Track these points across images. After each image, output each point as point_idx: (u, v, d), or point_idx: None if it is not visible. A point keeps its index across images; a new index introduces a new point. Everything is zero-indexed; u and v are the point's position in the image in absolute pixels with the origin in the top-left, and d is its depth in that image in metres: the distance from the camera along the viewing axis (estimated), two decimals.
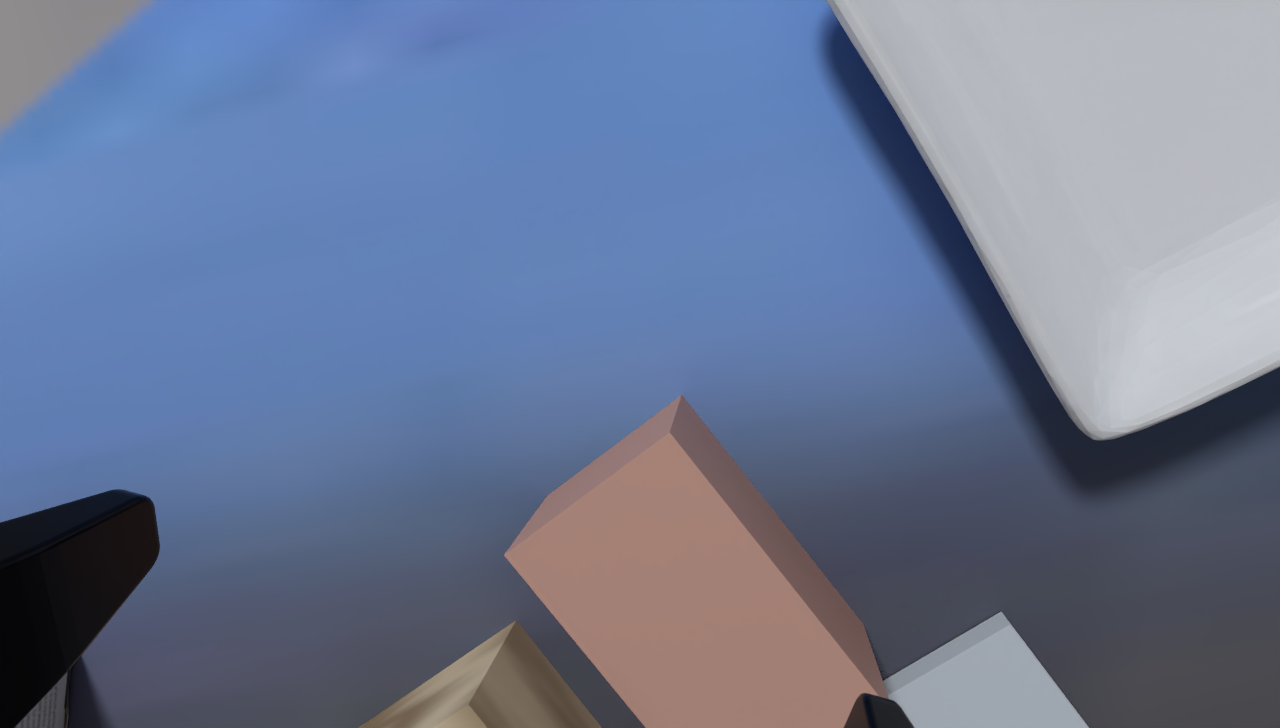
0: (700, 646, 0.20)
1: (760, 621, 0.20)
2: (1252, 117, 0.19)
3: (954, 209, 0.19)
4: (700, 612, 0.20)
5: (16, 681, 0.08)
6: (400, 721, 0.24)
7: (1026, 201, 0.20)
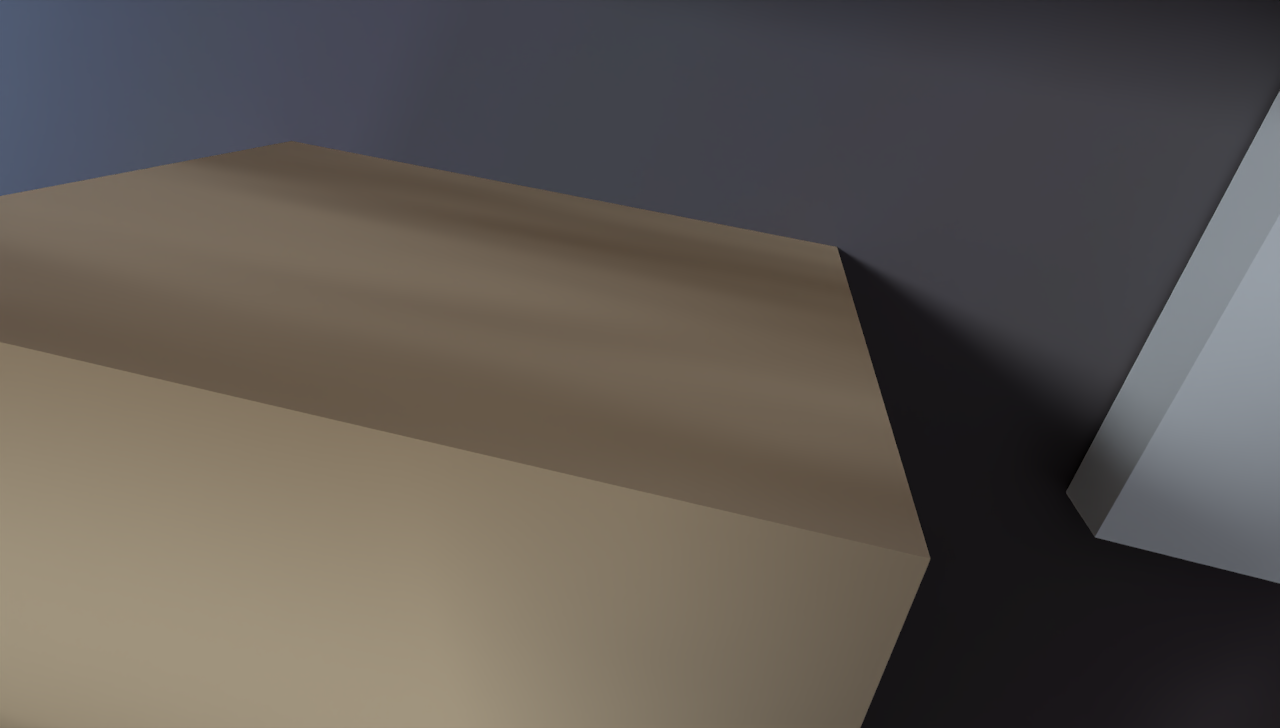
0: None
1: None
2: None
3: None
4: None
5: None
6: None
7: None
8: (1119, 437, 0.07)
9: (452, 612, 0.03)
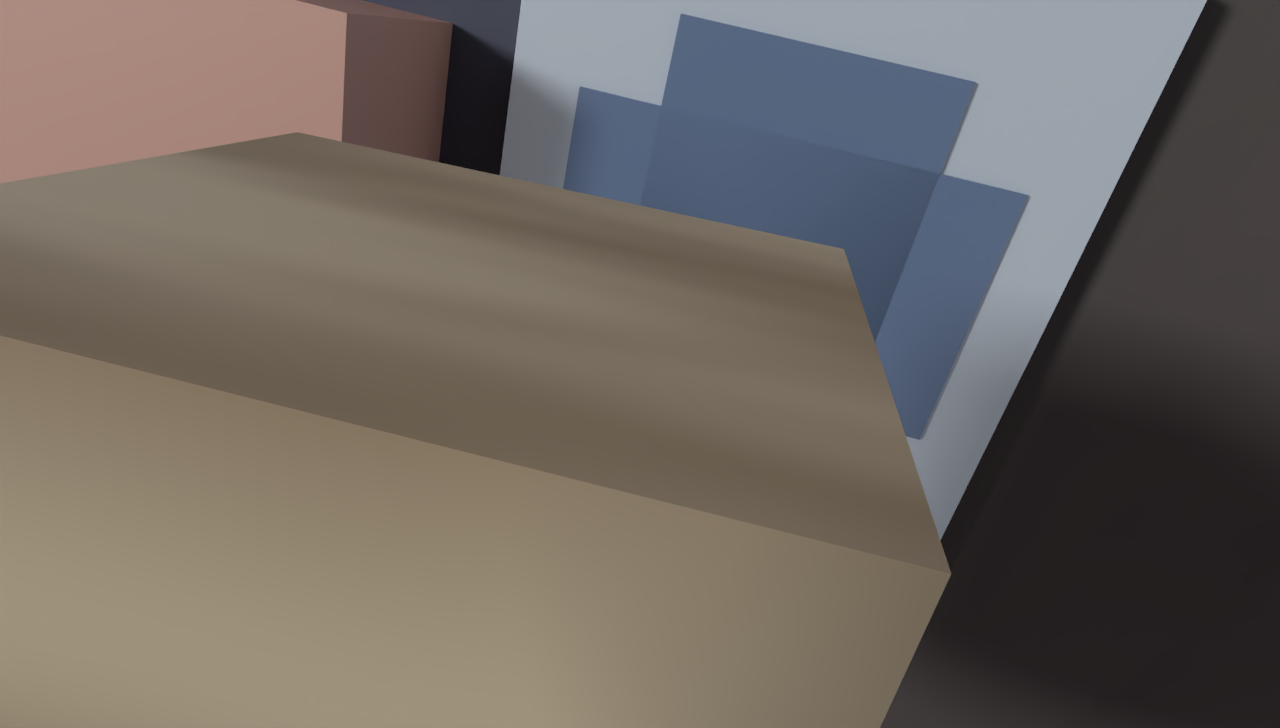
0: (135, 122, 0.15)
1: (144, 33, 0.14)
2: None
3: None
4: (97, 80, 0.15)
5: None
6: None
7: None
8: None
9: (459, 614, 0.03)
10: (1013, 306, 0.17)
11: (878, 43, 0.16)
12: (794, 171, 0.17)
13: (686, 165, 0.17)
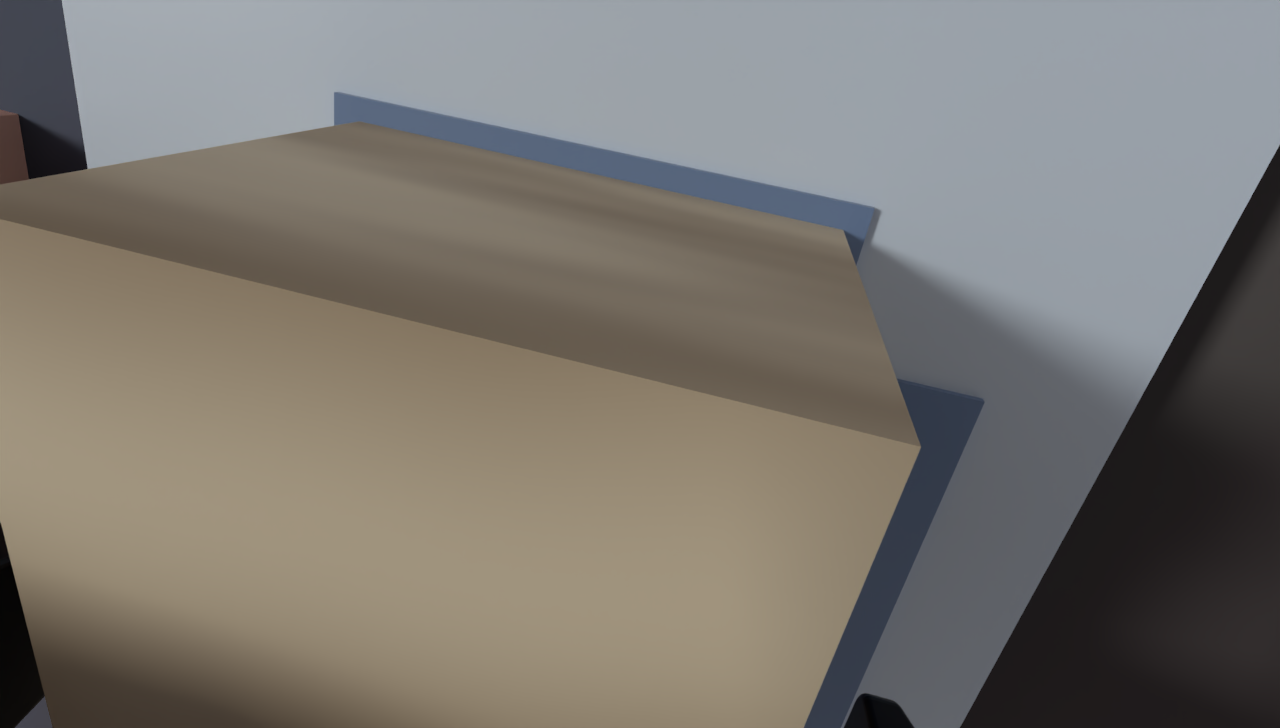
0: None
1: None
2: None
3: None
4: None
5: (16, 681, 0.08)
6: None
7: None
8: None
9: (545, 492, 0.04)
10: (970, 571, 0.10)
11: (690, 140, 0.08)
12: None
13: None
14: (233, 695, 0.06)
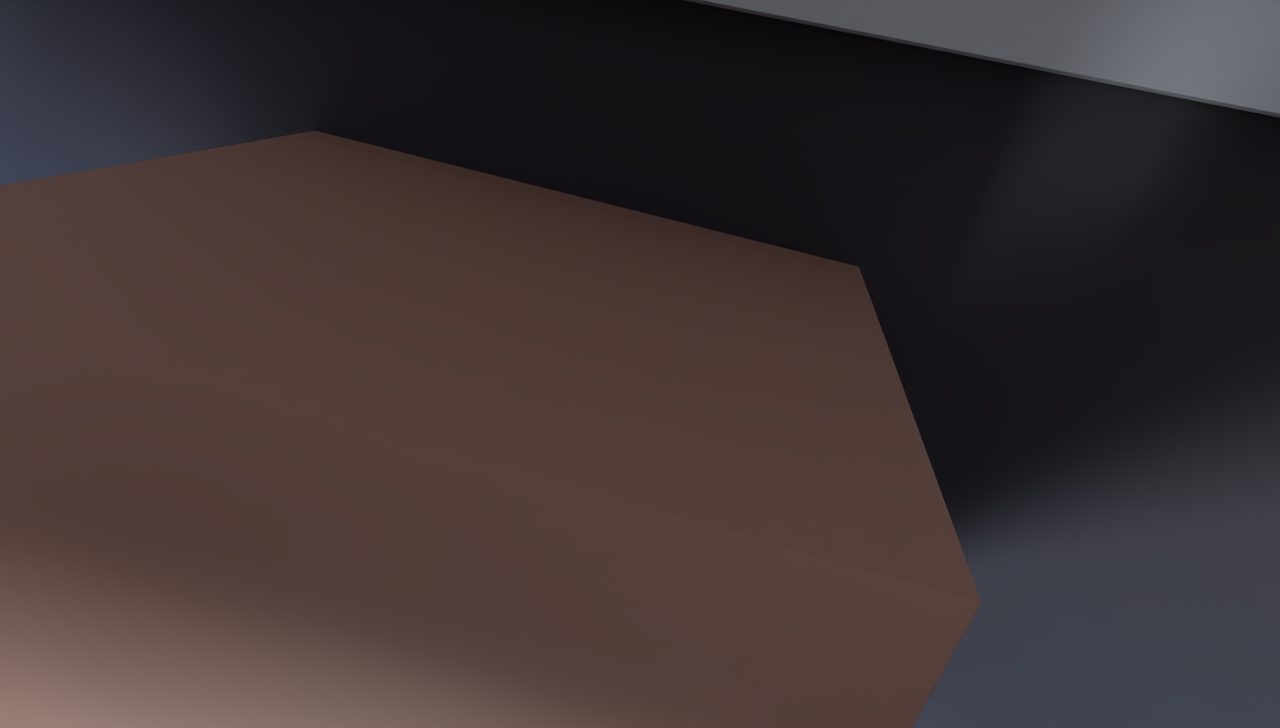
0: None
1: None
2: None
3: None
4: None
5: None
6: None
7: None
8: None
9: None
10: None
11: None
12: None
13: None
14: None
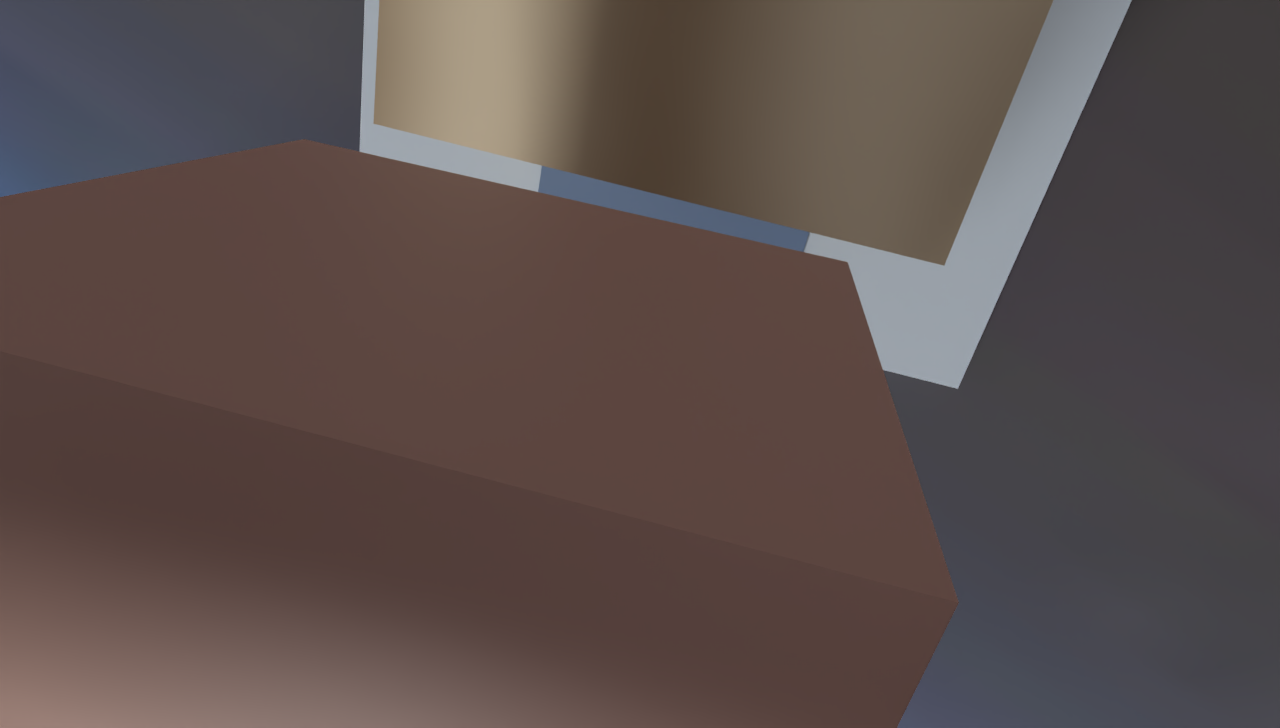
0: None
1: None
2: None
3: None
4: None
5: None
6: None
7: None
8: None
9: None
10: None
11: None
12: None
13: None
14: (591, 61, 0.11)
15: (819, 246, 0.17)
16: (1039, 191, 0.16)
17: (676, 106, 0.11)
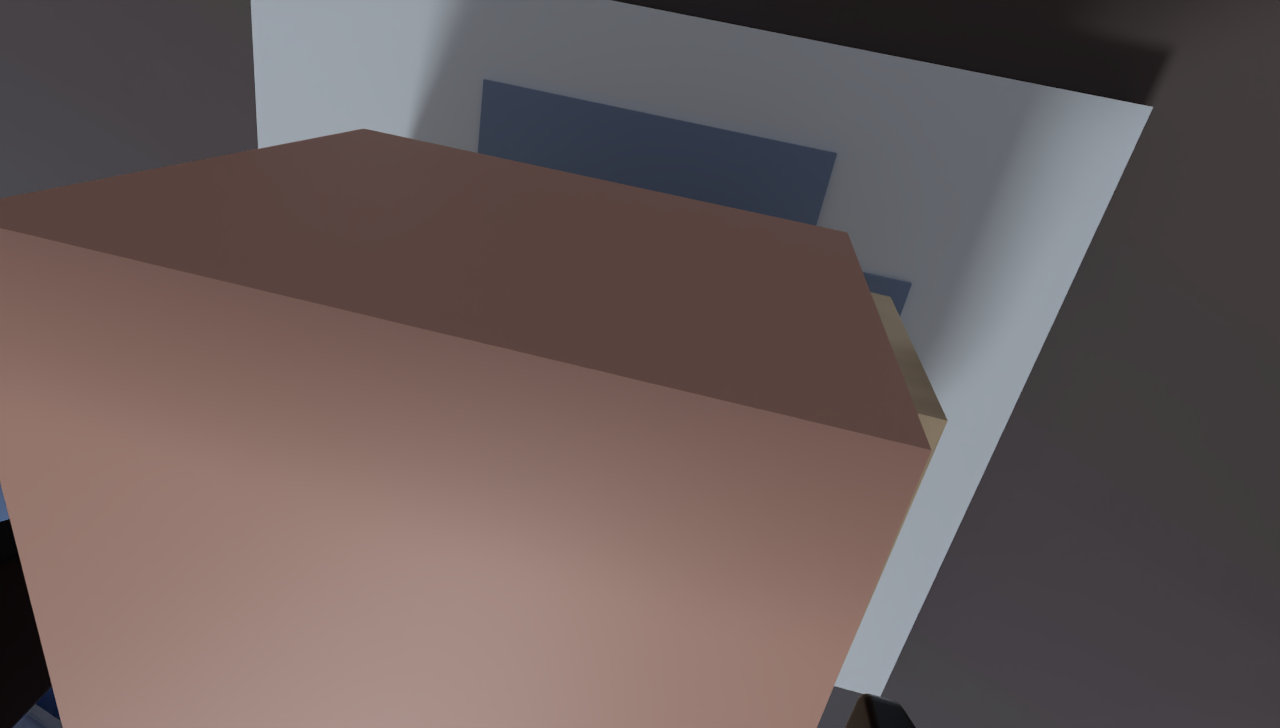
0: None
1: None
2: None
3: None
4: None
5: (14, 680, 0.08)
6: None
7: None
8: None
9: None
10: (625, 60, 0.13)
11: None
12: None
13: None
14: None
15: None
16: (946, 538, 0.15)
17: None
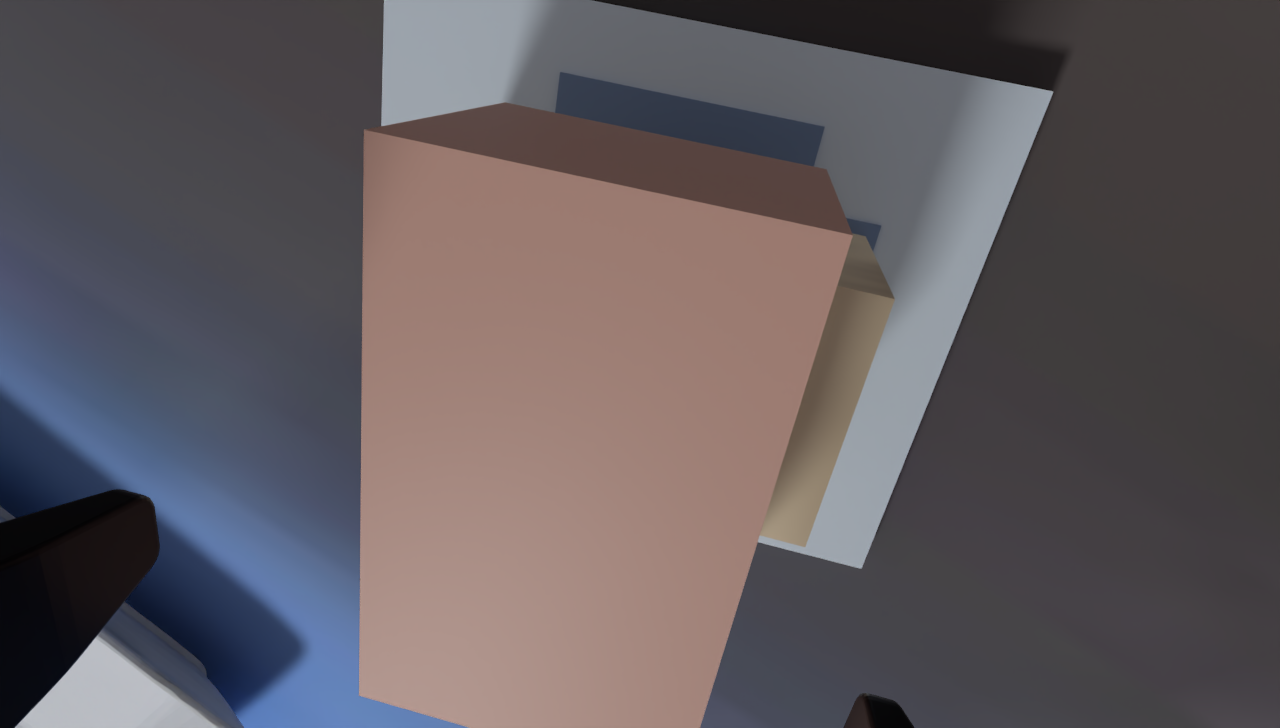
0: (562, 500, 0.10)
1: (445, 449, 0.10)
2: None
3: None
4: (514, 532, 0.11)
5: (16, 681, 0.08)
6: None
7: None
8: None
9: None
10: (667, 57, 0.17)
11: None
12: None
13: None
14: None
15: None
16: (911, 430, 0.20)
17: None
